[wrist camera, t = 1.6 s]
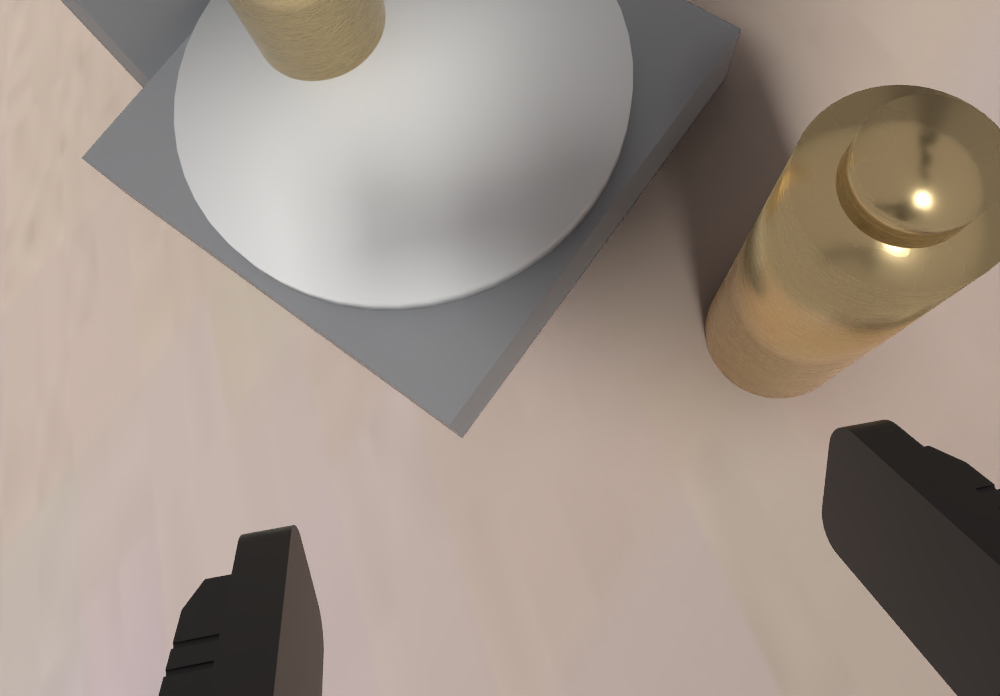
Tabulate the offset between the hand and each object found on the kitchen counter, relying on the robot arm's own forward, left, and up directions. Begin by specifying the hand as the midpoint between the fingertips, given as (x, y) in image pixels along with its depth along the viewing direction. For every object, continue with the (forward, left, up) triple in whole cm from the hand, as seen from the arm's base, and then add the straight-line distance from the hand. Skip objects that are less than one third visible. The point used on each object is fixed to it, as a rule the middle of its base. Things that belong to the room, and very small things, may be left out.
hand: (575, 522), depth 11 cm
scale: (-15, -10, -17) cm, 25 cm away
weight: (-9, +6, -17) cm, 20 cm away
